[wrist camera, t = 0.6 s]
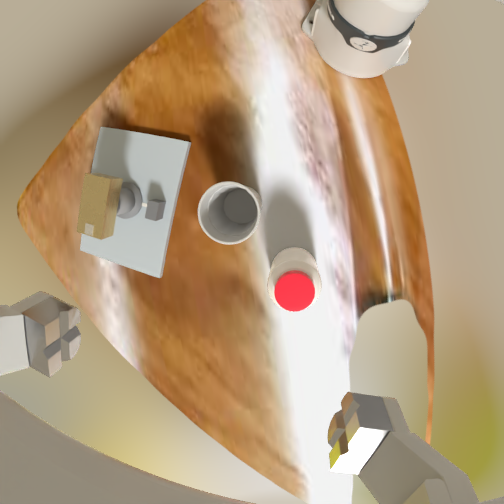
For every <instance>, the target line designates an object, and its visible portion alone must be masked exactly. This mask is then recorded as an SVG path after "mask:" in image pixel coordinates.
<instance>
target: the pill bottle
mask: <svg viewBox="0 0 504 504" xmlns="http://www.w3.org/2000/svg"><path fill="white" fill-rule="evenodd" d="M267 287H268V293H269V296H270V297H271V299H272V301H273V302H274V303H275V304H276V305H277V306H279V307H280V308H282V309H284V310H288V311H301V310H304V309H306V308H309V307H310V306H311V305H313V304H314V303H315V302H316V300H317V299H318V297H319V295H320V292H321V287H322V283H321V278H320V274H319V271H318V267H317V264H316V261H315V259H314V257H313V256H312V255H311V254H310V253H309V252H308V251H306V250H304V249H302V248H298V247H291V248H287V249H284V250H282V251H281V252H279V253H278V254H277V255H276V256H275V258H274V260H273V262H272V265H271V269H270V273H269V278H268V284H267Z"/></svg>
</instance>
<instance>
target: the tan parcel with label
mask: <svg viewBox="0 0 504 504" xmlns="http://www.w3.org/2000/svg"><path fill="white" fill-rule="evenodd" d="M122 181H123V178H119V177H114V176H110V175H106V174H101V173H85V177H84V183H83V189H82V196H81V202H80V209H79V217H78V225H77V232H79V233H82V234H85V235H88V236H91V237H94V238H97V239H100V240H102V239H105V238H107V237H110V236H113V233H114V226H115V220H116V214H117V213H118V212H119V209H120V198H119V197H120V191H121V186H122Z"/></svg>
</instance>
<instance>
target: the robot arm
mask: <svg viewBox="0 0 504 504" xmlns="http://www.w3.org/2000/svg"><path fill="white" fill-rule="evenodd" d="M496 1H498V2H500V3H502V4H504V0H496ZM428 2H429V0H316V2H315V4H314V5H313V7H312V9H311V10H310V12H309V14H308V15H307V17H306V19H305V20H304V22H303V24H302V31H303V32H304V33H305V34H306V35H307V36H308V37H309V38H310V39H311V40H312V41H313V42H314V44H315V46H316V48H317V51H318V52H319V54H320V56H321V57H322V58H323V59H324V61H325V62H326V63H328V64H329V65H330V66H331V67H332V68H334V69H335V70H337V71H339V72H341V73H343V74H345V75H348V76H352V77H357V78H371V77H376V76H379V75H381V74H383V73H384V72H386V71H387V70H388V69H390V68H391V67H393V66H399V65H404V64H405V63H407V61H408V58H409V57H408V47H409V46H410V44H411V40H410V35H409V33H410V32H411V30H412V28H413V26H414V23H415V19H416V18H417V17H418V16H419V14H420V13H421V12H422V10H423V9H424V8H425V7H426V6H427V4H428ZM309 22H313V24H311V23H309ZM80 321H81V320H80V311H79V310H78V308H76V307H74V306H72V305H70V304H68V303H66V302H64V301H62V300H60V299H58V298H56V297H54V296H52V295H50V294H47V293H46V292H42V291H39V292H37V293H35V294H33V295H31V296H29V297H27V298H25V299H23V300H22V301H20V302H18V303H16V304H14V305H12V306H10V307H9V306H8V305H0V375H4V374H8V373H11V372H15V371H18V370H22V369H26V368H29V366H30V367H32V368H34V369H35V370H37V371H39V372H41V373H42V374H44V375H46V376H48V377H51V376H52V375H53V374H55V373H56V372H57V371H58V370H59V369H60V368H62V361H67V360H71V359H72V358H73V357H74V356H75V354H76V353H77V351H78V349H79V346H80V341H81V336H80V335H81V334H80V332H79V330H78V328H77V325H78V324H79V323H80ZM341 406H342V410H340V411H339V412H337V413H335V415H334V417H333V418H332V420H331V423H330V426H329V430H328V443H329V444H330V446H331V447H332V448H333V449H332V450H331V452H330V453H329V458H330V468H331V471H337V472H345V473H354V474H358V476H359V478H360V479H361V480H362V482H363V483H364V484H365V485H366V487H367V488H368V489H369V491H370V492H371V494H372V495H373V496H374V498H375V499H376V500H377V501H378V502H379V504H504V497H500V498H497V499H492V500H488V501H484V502H479V501H478V498H477V496H476V494H475V491H474V489H473V487H472V484H471V482H470V480H469V478H468V475H467V474H465V473H464V472H463V471H461V470H460V469H459V468H458V467H456V466H455V465H454V464H453V463H451V462H450V461H449V460H447V459H446V458H445V457H444V456H442V455H441V454H440V453H439V452H437V451H436V450H435V449H433V448H432V447H431V446H430V445H429V444H427V443H426V442H425V441H423V440H422V439H421V438H420V437H419V436H417V435H416V434H415V433H410V431H409V428H408V426H407V423H406V421H405V419H404V416H403V413H402V411H401V409H400V406H399V404H398V401H397V400H396V399H395V398H390V397H380V396H379V397H378V396H371V395H364V394H358V393H351V392H348V393H347V394H346V395H345V396H344V398H343V400H342V402H341ZM0 504H255V503H249V502H245V501H240V500H236V499H231V498H227V497H223V496H219V495H215V494H212V493H208V492H204V491H200V490H197V489H194V488H191V487H187V486H184V485H181V484H178V483H175V482H172V481H169V480H166V479H164V478H161V477H158V476H155V475H153V474H150V473H148V472H145V471H142V470H140V469H138V468H135V467H132V466H130V465H128V464H126V463H123V462H121V461H119V460H117V459H114V458H112V457H110V456H108V455H106V454H104V453H101V452H100V451H98V450H96V449H94V448H92V447H90V446H88V445H86V444H84V443H82V442H80V441H78V440H76V439H75V438H73V437H71V436H69V435H67V434H66V433H64V432H62V431H61V430H59V429H57V428H55V427H54V426H52V425H50V424H49V423H47V422H46V421H44V420H42V419H41V418H39V417H38V416H36V415H35V414H33V413H32V412H30V411H29V410H27V409H26V408H24V407H23V406H21V405H20V404H19V403H17V402H16V401H14V400H13V399H12V398H10V397H9V396H7V395H6V394H5V393H3V392H2V391H1V390H0Z"/></svg>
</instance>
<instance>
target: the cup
mask: <svg viewBox="0 0 504 504" xmlns="http://www.w3.org/2000/svg"><path fill="white" fill-rule="evenodd" d="M261 210H262V201H261V198H260V196H259V194H258V193H257V192H256V191H255V190H254V189H252V188H251V187H248V186H244V185H242V184H240V183H237V182H231V181H226V182H220V183H217V184H215V185H213V186H212V187H210V188H209V189H208V190H207V191H206V192H205V193H204V194H203V196H202V198H201V200H200V202H199V206H198V219H199V223H200V225H201V227H202V229H203V231H204V232H205V233H206V234H207V235H208V236H209V237H210V238H211V239H213V240H214V241H216V242H219V243H222V244H237V243H240V242H242V241H244V240H246V239H248V238H249V237H250V236H251V235H252V234H253V233H254V231H255V230H256V228H257V226H258V224H259V220H260V213H261Z"/></svg>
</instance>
